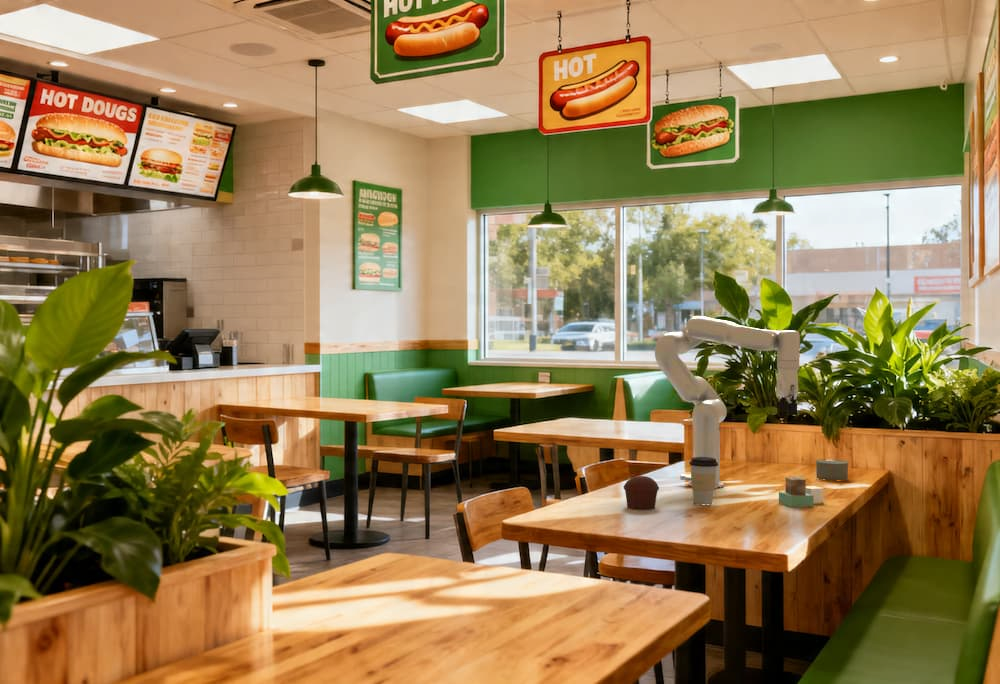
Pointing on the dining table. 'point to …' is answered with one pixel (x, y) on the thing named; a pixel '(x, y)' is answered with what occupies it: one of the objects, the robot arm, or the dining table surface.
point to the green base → (795, 500)
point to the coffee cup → (703, 479)
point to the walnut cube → (795, 486)
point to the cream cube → (815, 493)
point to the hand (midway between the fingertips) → (787, 413)
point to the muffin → (641, 493)
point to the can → (832, 469)
